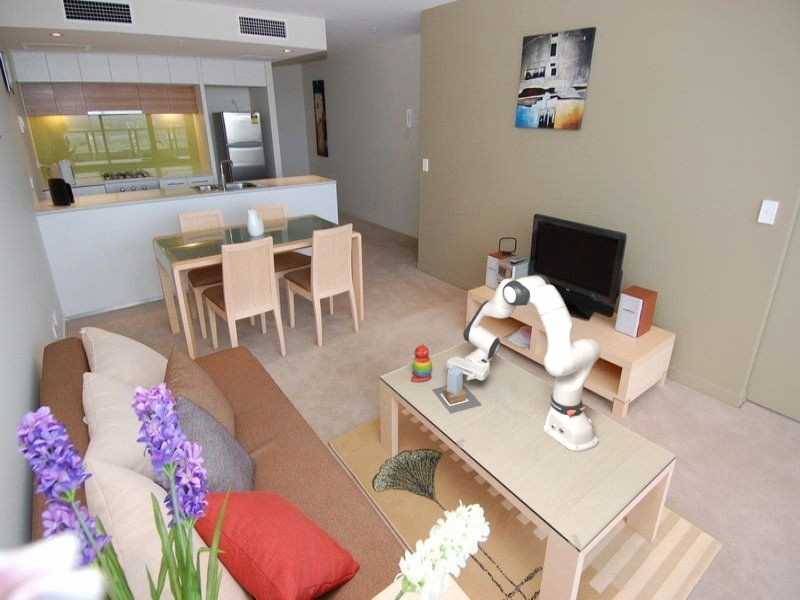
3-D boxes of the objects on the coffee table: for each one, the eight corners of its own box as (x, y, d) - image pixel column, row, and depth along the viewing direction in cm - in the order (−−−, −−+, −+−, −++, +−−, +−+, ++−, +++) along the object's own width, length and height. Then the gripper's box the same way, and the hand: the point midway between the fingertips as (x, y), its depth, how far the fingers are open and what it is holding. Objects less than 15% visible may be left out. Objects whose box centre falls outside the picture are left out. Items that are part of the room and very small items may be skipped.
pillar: (462, 389, 213) (462, 371, 209) (456, 394, 209) (456, 376, 205) (453, 386, 216) (453, 367, 212) (447, 390, 212) (447, 372, 208)
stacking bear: (412, 371, 237) (412, 340, 230) (432, 372, 235) (432, 341, 228) (410, 382, 227) (409, 351, 220) (431, 384, 226) (431, 352, 218)
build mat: (482, 405, 209) (482, 405, 208) (450, 414, 204) (450, 413, 203) (461, 382, 226) (461, 382, 226) (431, 390, 221) (431, 389, 221)
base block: (466, 400, 212) (466, 393, 210) (450, 404, 210) (450, 397, 208) (458, 391, 219) (458, 383, 217) (442, 394, 216) (442, 387, 215)
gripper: (455, 350, 226) (439, 362, 217) (492, 363, 214) (477, 376, 205) (455, 361, 229) (439, 373, 219) (491, 375, 217) (476, 388, 207)
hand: (457, 375), depth 212 cm, fingers open, 8 cm apart
